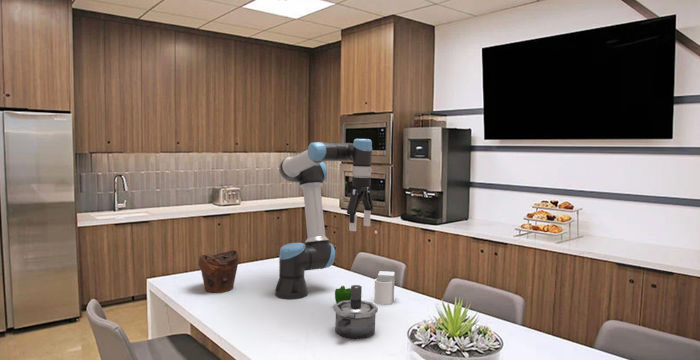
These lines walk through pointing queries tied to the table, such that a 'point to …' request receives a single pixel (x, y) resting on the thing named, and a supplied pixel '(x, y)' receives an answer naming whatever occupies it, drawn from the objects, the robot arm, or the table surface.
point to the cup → (383, 292)
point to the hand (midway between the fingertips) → (359, 228)
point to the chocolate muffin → (219, 271)
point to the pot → (355, 322)
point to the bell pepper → (342, 294)
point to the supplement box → (387, 279)
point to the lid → (355, 301)
